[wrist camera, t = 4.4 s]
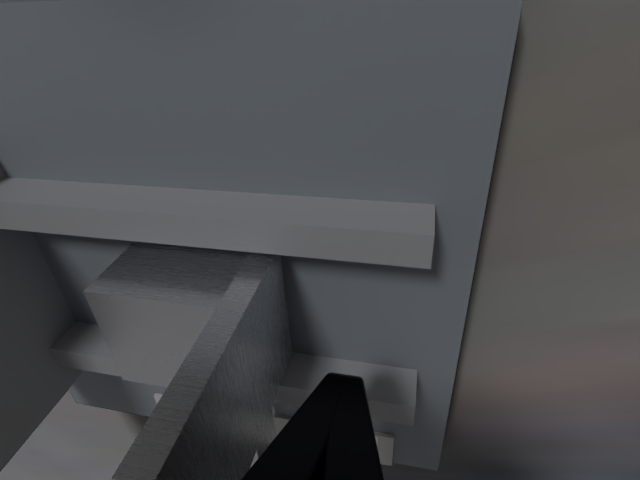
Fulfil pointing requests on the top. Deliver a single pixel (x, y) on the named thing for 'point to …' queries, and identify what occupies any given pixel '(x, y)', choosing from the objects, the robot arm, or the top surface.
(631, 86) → the top surface
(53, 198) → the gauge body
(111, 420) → the top surface
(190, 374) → the dark grey angled block
